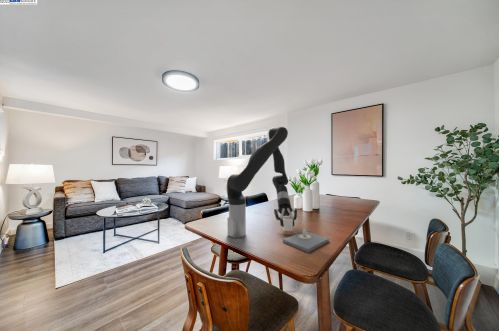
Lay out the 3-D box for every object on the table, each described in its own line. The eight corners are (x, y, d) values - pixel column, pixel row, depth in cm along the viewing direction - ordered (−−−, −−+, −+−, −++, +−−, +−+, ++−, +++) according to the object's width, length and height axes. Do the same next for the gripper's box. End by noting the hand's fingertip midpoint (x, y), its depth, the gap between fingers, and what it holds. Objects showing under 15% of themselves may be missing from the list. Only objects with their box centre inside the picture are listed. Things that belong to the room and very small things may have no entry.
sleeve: (292, 234, 99) (292, 219, 99) (283, 234, 99) (283, 219, 99) (290, 230, 104) (290, 217, 104) (281, 231, 104) (281, 217, 104)
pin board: (308, 252, 78) (307, 240, 78) (282, 242, 89) (282, 231, 89) (328, 241, 89) (328, 230, 89) (304, 233, 100) (304, 223, 100)
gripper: (272, 197, 109) (275, 223, 97) (296, 196, 109) (302, 223, 97) (271, 204, 114) (274, 229, 102) (294, 203, 114) (299, 229, 102)
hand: (287, 226), depth 100 cm, fingers closed on sleeve, 5 cm apart
